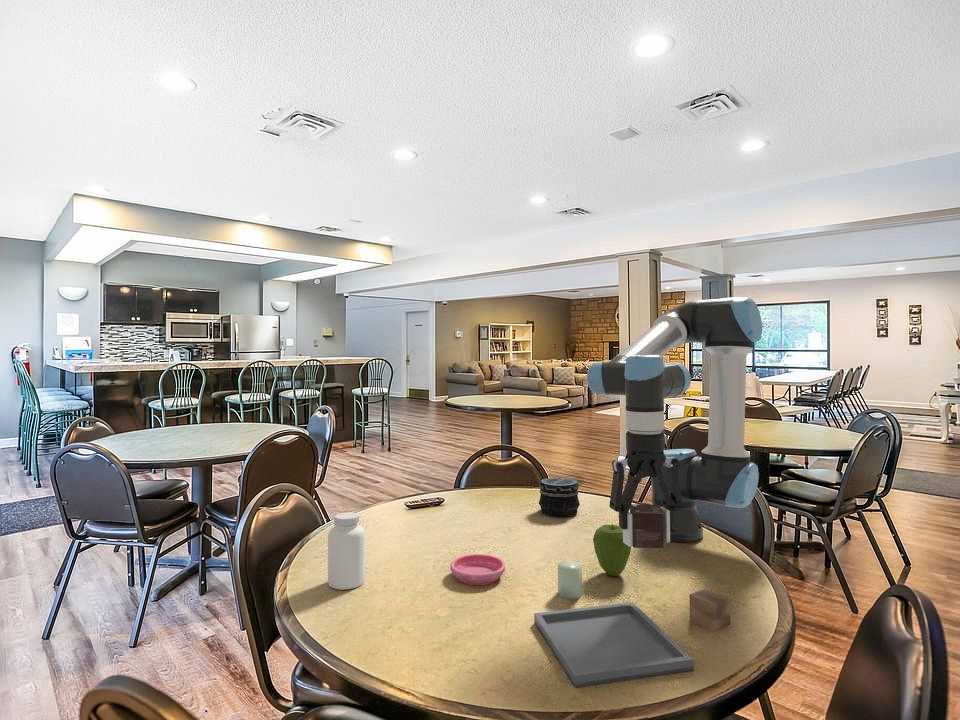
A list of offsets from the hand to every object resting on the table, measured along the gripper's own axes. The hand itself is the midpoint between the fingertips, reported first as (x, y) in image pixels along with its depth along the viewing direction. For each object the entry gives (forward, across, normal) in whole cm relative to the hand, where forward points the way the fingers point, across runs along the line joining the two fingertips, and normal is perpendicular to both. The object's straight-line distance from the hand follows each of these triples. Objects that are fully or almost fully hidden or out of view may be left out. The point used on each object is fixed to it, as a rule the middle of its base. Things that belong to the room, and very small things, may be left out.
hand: (646, 541), depth 110 cm
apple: (+12, +2, -13) cm, 18 cm away
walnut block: (+12, -6, +11) cm, 18 cm away
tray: (+11, +16, +14) cm, 24 cm away
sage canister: (+12, +15, -6) cm, 19 cm away
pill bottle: (+11, +61, -22) cm, 65 cm away
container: (+13, -3, -61) cm, 62 cm away
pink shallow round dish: (+12, +32, -19) cm, 39 cm away
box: (+1, 0, 0) cm, 1 cm away
